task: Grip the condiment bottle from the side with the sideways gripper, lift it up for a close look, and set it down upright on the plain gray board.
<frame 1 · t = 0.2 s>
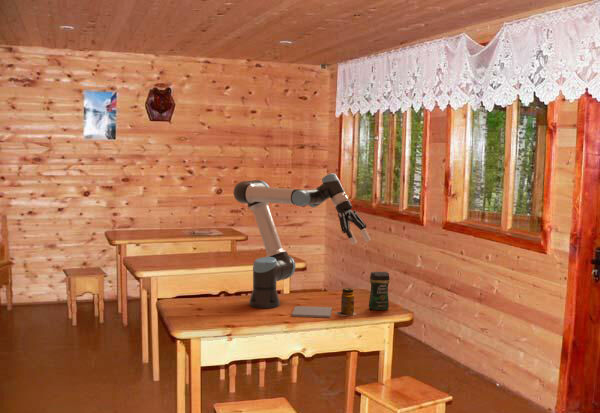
hand: (361, 242, 308), 34 cm above the table, tool tilted 35°, fingers open, 13 cm apart
coffee jar: (378, 309, 322), on the table
condiment: (345, 314, 311), on the table
plain gray board: (312, 312, 312), on the table
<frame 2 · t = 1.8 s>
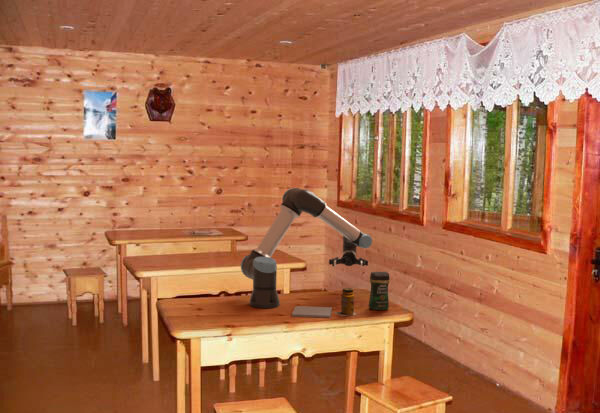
hand: (348, 265, 331), 20 cm above the table, tool horizontal, fingers open, 13 cm apart
nothing on the table moved.
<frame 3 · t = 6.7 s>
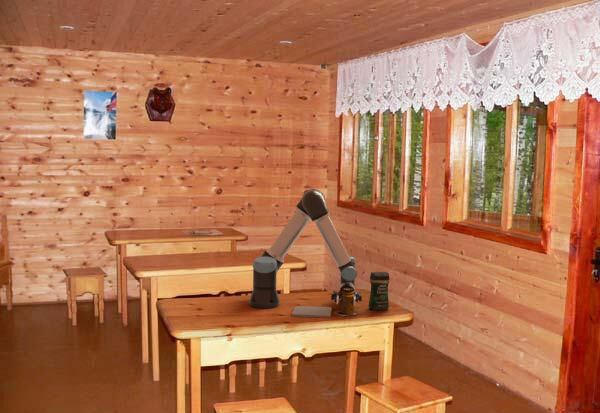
hand: (345, 301, 306), 7 cm above the table, tool horizontal, fingers open, 7 cm apart
condiment: (345, 314, 311), on the table, touching gripper
everything else where it was.
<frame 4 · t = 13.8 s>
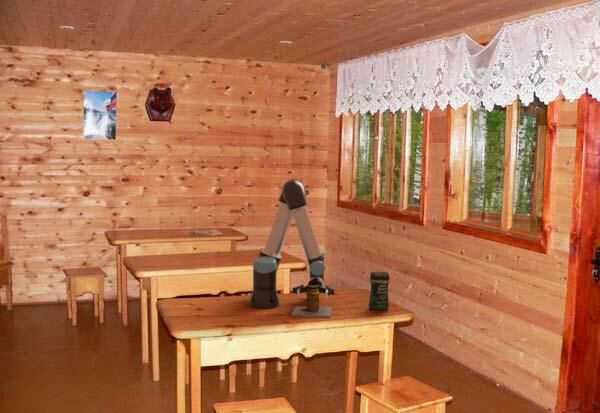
hand: (312, 294, 308), 9 cm above the table, tool horizontal, fingers open, 13 cm apart
condiment: (310, 311, 312), point 1 cm above the table, touching plain gray board
everything else where it was.
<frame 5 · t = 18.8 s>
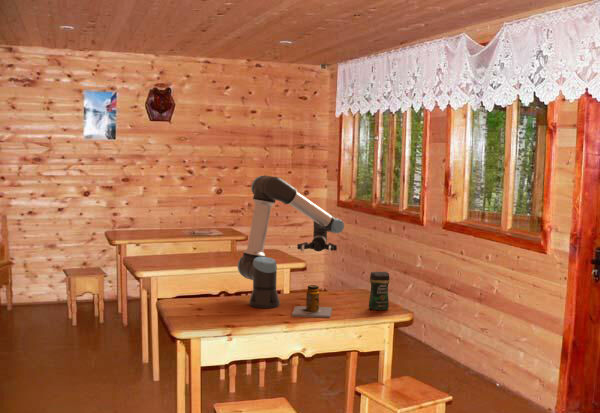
hand: (315, 249, 326), 28 cm above the table, tool horizontal, fingers open, 13 cm apart
nothing on the table moved.
at the end: condiment inside the target area on the plain gray board (0.7 cm from its centre), point 0.8 cm above the plain gray board's base; condiment tilted 0°; the gripper is holding nothing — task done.
